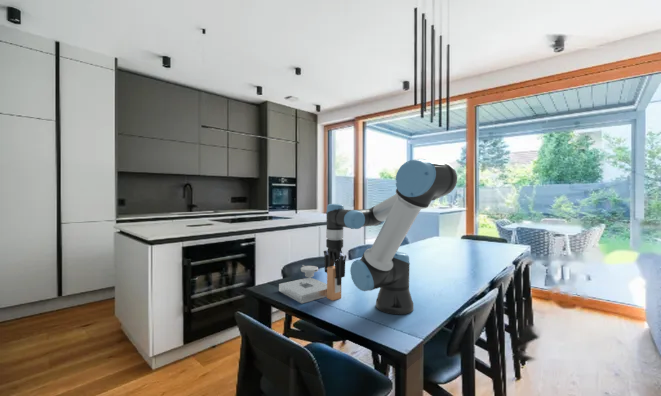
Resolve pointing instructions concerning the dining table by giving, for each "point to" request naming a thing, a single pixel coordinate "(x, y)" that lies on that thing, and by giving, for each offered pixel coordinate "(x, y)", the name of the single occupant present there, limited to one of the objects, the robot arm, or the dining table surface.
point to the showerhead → (309, 270)
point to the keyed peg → (332, 284)
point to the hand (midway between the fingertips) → (334, 290)
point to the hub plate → (304, 289)
